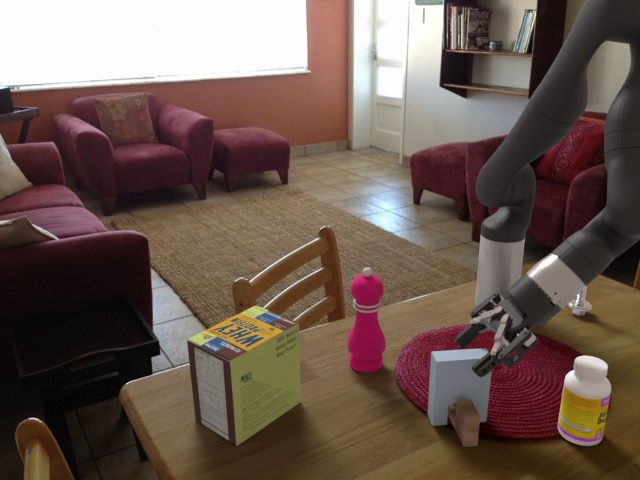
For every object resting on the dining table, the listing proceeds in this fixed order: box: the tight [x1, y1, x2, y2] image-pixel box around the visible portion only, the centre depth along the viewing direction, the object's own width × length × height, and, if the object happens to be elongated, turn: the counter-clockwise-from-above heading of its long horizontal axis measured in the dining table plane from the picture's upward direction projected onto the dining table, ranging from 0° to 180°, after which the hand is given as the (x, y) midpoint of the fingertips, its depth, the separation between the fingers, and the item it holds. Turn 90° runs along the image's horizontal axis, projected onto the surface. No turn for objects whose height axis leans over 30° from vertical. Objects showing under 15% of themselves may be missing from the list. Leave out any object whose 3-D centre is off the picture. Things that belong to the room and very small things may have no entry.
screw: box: [567, 285, 593, 317], centre depth 132 cm, size 13×5×5 cm
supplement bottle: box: [557, 355, 612, 447], centre depth 94 cm, size 7×7×13 cm
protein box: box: [186, 305, 302, 447], centre depth 100 cm, size 10×15×16 cm
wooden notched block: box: [448, 399, 481, 448], centre depth 101 cm, size 17×2×6 cm, turn 6°
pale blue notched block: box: [427, 347, 492, 427], centre depth 98 cm, size 9×3×12 cm, turn 96°
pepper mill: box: [346, 267, 387, 374], centre depth 112 cm, size 7×7×20 cm
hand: (466, 358), depth 97 cm, fingers open, 8 cm apart
